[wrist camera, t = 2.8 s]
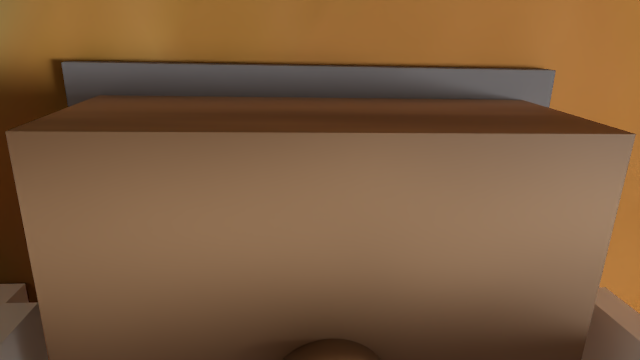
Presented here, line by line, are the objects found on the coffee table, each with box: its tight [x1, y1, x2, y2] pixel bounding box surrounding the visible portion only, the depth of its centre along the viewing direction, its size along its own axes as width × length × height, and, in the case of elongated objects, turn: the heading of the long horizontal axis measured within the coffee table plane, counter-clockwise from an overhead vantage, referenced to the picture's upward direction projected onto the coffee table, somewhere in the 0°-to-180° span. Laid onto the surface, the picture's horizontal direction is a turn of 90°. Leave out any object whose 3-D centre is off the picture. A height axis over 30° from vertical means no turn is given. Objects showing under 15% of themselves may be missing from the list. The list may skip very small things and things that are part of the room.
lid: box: [5, 95, 636, 360], centre depth 11 cm, size 10×10×5 cm
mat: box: [61, 61, 555, 108], centre depth 13 cm, size 12×12×1 cm
